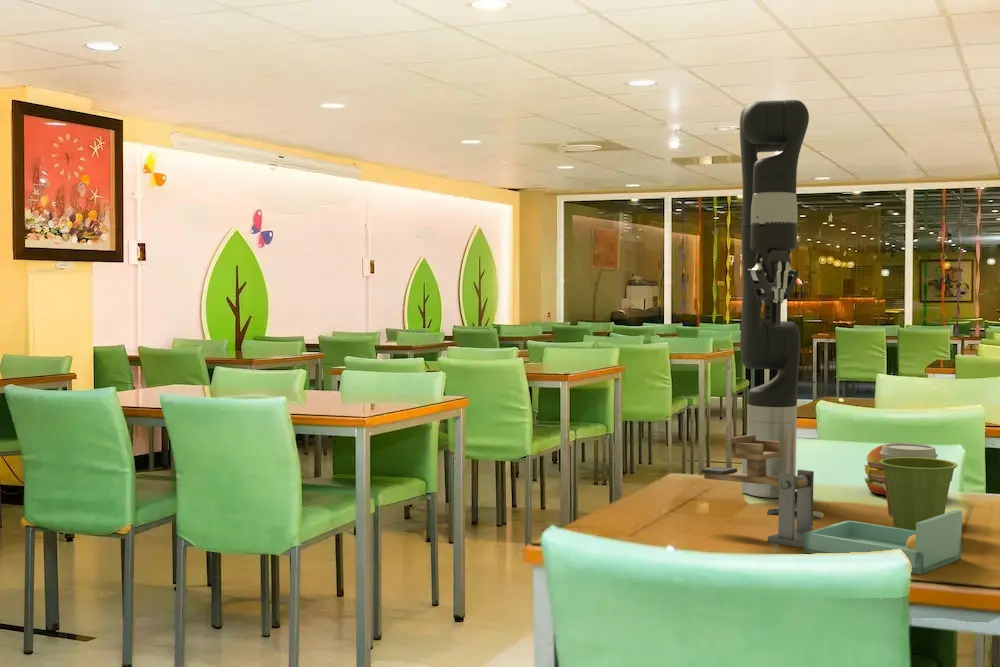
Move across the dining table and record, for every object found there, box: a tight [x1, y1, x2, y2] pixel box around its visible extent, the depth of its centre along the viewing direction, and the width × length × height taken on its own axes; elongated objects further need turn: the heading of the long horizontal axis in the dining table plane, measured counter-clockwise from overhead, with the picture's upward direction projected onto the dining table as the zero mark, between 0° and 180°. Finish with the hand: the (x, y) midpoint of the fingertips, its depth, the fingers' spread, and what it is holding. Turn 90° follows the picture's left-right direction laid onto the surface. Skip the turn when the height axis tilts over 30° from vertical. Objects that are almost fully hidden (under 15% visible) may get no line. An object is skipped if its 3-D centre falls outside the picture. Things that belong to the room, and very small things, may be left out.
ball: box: [906, 534, 916, 550], centre depth 156 cm, size 3×3×3 cm
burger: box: [863, 442, 890, 497], centre depth 212 cm, size 14×14×10 cm
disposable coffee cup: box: [880, 442, 939, 515], centre depth 191 cm, size 10×10×12 cm
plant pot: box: [880, 457, 959, 531], centre depth 178 cm, size 12×12×11 cm
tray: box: [803, 509, 963, 576], centre depth 160 cm, size 18×14×7 cm
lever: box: [700, 434, 809, 491], centre depth 175 cm, size 17×6×8 cm, turn 45°
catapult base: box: [767, 469, 815, 549], centre depth 170 cm, size 6×8×11 cm
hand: (772, 325), depth 182 cm, fingers closed
